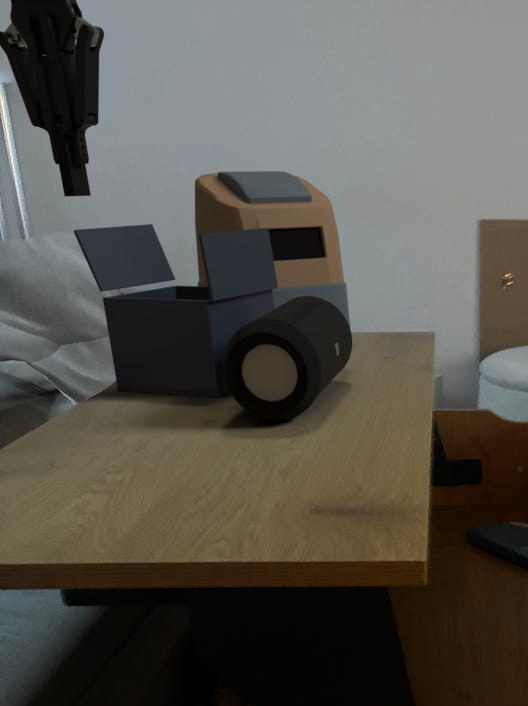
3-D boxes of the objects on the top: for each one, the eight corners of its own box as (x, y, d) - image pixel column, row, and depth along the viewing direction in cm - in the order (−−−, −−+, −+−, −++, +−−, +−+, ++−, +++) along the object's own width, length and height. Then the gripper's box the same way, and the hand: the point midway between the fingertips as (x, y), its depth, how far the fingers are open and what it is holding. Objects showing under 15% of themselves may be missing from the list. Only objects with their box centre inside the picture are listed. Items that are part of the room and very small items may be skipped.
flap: (102, 290, 111) (100, 291, 111) (175, 279, 122) (173, 280, 123) (75, 229, 109) (72, 230, 109) (152, 224, 120) (149, 225, 121)
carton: (117, 390, 116) (91, 233, 108) (187, 370, 127) (167, 227, 120) (225, 398, 111) (205, 234, 104) (286, 376, 123) (272, 227, 115)
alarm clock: (251, 371, 126) (229, 171, 116) (197, 355, 138) (173, 172, 128) (362, 356, 135) (350, 170, 125) (302, 343, 147) (287, 171, 137)
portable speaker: (321, 427, 98) (312, 322, 93) (221, 427, 98) (209, 322, 94) (357, 379, 121) (352, 293, 116) (277, 379, 121) (269, 293, 117)
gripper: (-41, -49, 104) (9, 197, 114) (59, -60, 99) (102, 196, 110) (12, -36, 110) (55, 195, 120) (108, -46, 106) (144, 194, 116)
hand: (77, 195), depth 115 cm, fingers closed
